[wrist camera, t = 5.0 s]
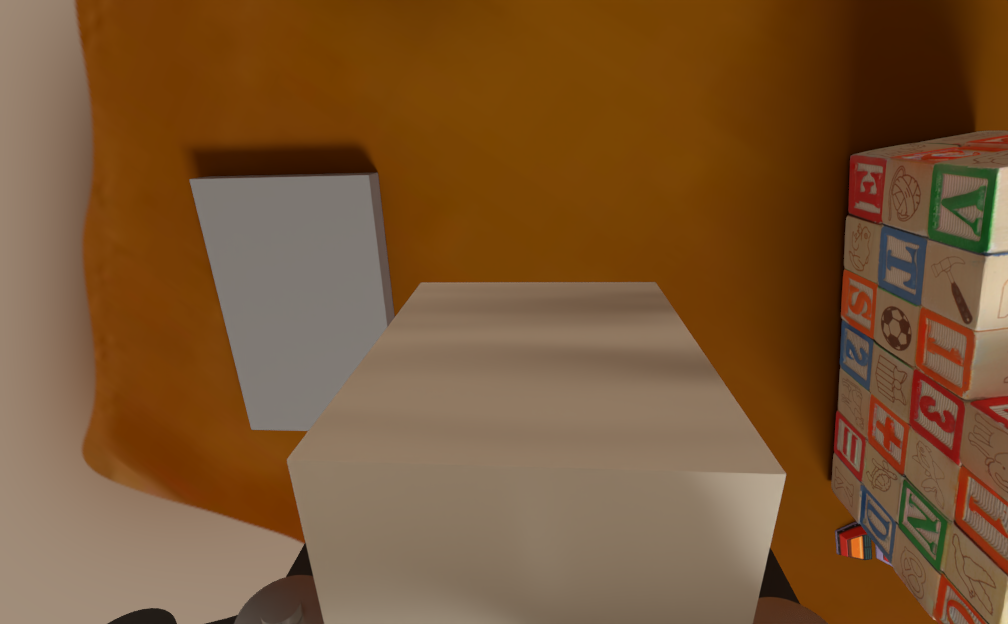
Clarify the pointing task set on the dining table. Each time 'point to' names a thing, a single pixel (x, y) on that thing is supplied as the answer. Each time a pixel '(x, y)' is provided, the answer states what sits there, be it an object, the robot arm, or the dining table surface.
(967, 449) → the stack of blocks
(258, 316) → the baseplate
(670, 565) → the cream brick
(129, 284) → the dining table surface
